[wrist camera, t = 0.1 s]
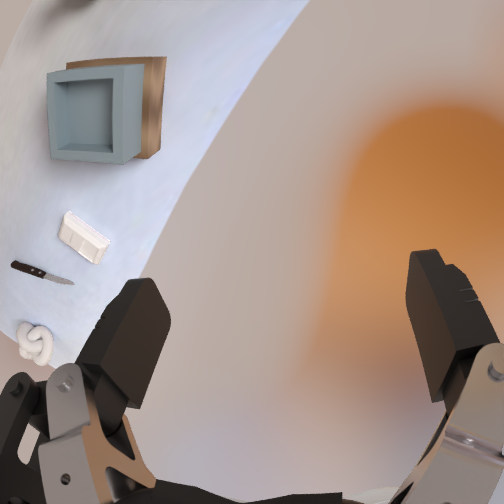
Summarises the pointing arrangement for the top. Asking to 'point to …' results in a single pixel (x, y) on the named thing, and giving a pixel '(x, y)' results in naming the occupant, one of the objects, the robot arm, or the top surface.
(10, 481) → the robot arm
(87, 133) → the blue-grey square tray
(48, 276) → the kitchen knife
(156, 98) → the tower base
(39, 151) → the top surface
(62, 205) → the top surface
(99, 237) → the soap bar
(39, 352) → the white knot sculpture
